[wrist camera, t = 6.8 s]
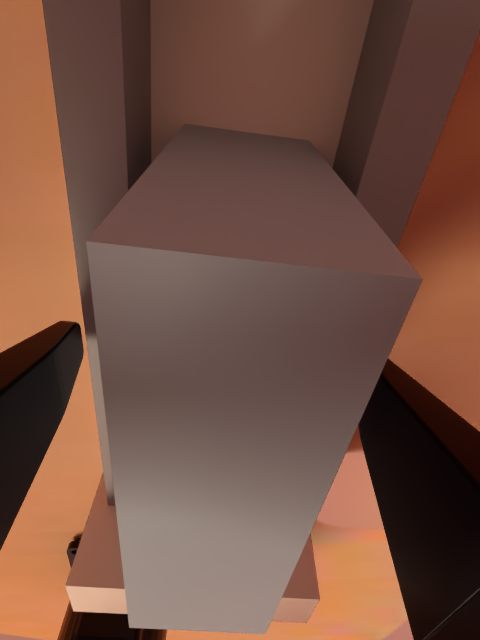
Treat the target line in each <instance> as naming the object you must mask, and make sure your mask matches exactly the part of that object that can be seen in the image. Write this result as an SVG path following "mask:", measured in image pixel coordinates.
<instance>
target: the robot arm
mask: <svg viewBox="0 0 480 640" xmlns="http://www.w3.org/2000/svg"><path fill="white" fill-rule="evenodd" d="M83 351H84V350H83V342H82V335H81V328H80V325H79V324H78V323H77V322H70V321H59V322H57V323H55V324H53V325H52V326H50V327H48V328H46V329H44V330H42V331H40V332H39V333H37V334H35V335H33V336H31V337H29V338H27V339H25V340H24V341H22V342H20V343H18V344H16V345H14V346H12V347H11V348H9V349H7V350H5V351H3V352H1V353H0V550H1V548H2V546H3V544H4V541H5V539H6V537H7V535H8V533H9V531H10V529H11V527H12V524H13V522H14V520H15V518H16V516H17V514H18V512H19V509H20V507H21V505H22V503H23V501H24V499H25V497H26V495H27V492H28V490H29V488H30V486H31V484H32V482H33V480H34V478H35V475H36V473H37V471H38V469H39V467H40V465H41V463H42V461H43V458H44V456H45V454H46V452H47V450H48V448H49V446H50V443H51V441H52V439H53V437H54V435H55V433H56V431H57V429H58V426H59V424H60V422H61V420H62V418H63V415H64V413H65V410H66V407H67V405H68V402H69V399H70V396H71V392H72V389H73V386H74V383H75V380H76V377H77V374H78V371H79V368H80V365H81V362H82V359H83ZM358 426H359V432H360V438H361V442H362V446H363V450H364V454H365V458H366V462H367V465H368V469H369V473H370V477H371V480H372V484H373V488H374V491H375V495H376V499H377V503H378V507H379V511H380V514H381V518H382V522H383V526H384V529H385V533H386V537H387V541H388V545H389V548H390V552H391V556H392V560H393V563H394V567H395V571H396V575H397V578H398V582H399V586H400V590H401V594H402V597H403V601H404V605H405V609H406V612H407V616H408V620H409V624H410V628H411V631H412V635H413V638H414V640H480V432H479V431H478V430H477V429H476V428H474V427H473V426H472V425H471V424H469V423H468V422H467V421H466V420H464V419H463V418H462V417H461V416H459V415H458V414H457V413H456V412H454V411H453V410H452V409H451V408H449V407H448V406H447V405H446V404H444V403H443V402H442V401H441V400H439V399H438V398H437V397H436V396H434V395H433V394H432V393H431V392H429V391H428V390H427V389H426V388H424V387H423V386H422V385H421V384H419V383H418V382H417V381H416V380H414V379H413V378H412V377H411V376H409V375H408V374H407V373H406V372H404V371H403V370H402V369H401V368H399V367H398V366H397V365H396V364H394V363H393V362H392V361H391V360H389V359H387V361H386V363H385V365H384V368H383V370H382V372H381V374H380V377H379V379H378V381H377V384H376V386H375V388H374V390H373V393H372V395H371V397H370V399H369V402H368V404H367V406H366V408H365V411H364V413H363V415H362V417H361V420H360V422H359V424H358ZM79 544H80V541H72V542H70V543H69V546H68V549H67V555H68V558H69V562H70V566H71V568H72V565H73V562H74V559H75V556H76V553H77V550H78V547H79ZM166 633H167V629H145V628H129V622H128V614H116V613H96V612H76V611H73V609H72V605H71V602H70V601H69V604H68V608H67V611H66V614H65V617H64V620H63V623H62V627H61V630H60V633H59V636H58V639H57V640H166Z"/></svg>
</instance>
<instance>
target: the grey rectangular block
mask: <svg viewBox="0 0 480 640" xmlns="http://www.w3.org/2000/svg"><path fill="white" fill-rule="evenodd" d="M86 245H87V254H88V263H89V272H90V281H91V290H92V299H93V308H94V317H95V326H96V335H97V344H98V353H99V362H100V370H101V379H102V388H103V397H104V406H105V415H106V424H107V433H108V442H109V451H110V460H111V469H112V478H113V487H114V496H115V505H116V514H117V523H118V532H119V541H120V550H121V559H122V568H123V577H124V586H125V595H126V604H127V613H128V622H129V628H145V629H167V630H188V631H209V632H230V633H252V634H266V632H267V630H268V627H269V625H270V623H271V621H272V618H273V616H274V614H275V612H276V609H277V607H278V605H279V603H280V600H281V598H282V596H283V593H284V591H285V589H286V587H287V584H288V582H289V580H290V578H291V575H292V573H293V571H294V569H295V566H296V564H297V562H298V560H299V557H300V555H301V553H302V551H303V548H304V546H305V544H306V542H307V539H308V537H309V535H310V533H311V530H312V528H313V526H314V523H315V521H316V519H317V517H318V514H319V512H320V510H321V508H322V505H323V503H324V501H325V499H326V496H327V494H328V492H329V489H330V487H331V485H332V483H333V481H334V478H335V476H336V474H337V472H338V469H339V467H340V465H341V463H342V460H343V458H344V456H345V454H346V451H347V449H348V447H349V444H350V442H351V440H352V438H353V435H354V433H355V431H356V429H357V426H358V424H359V422H360V420H361V417H362V415H363V413H364V411H365V408H366V406H367V404H368V402H369V399H370V397H371V395H372V393H373V390H374V388H375V386H376V384H377V381H378V379H379V377H380V374H381V372H382V370H383V368H384V365H385V363H386V361H387V359H388V356H389V354H390V352H391V350H392V347H393V345H394V343H395V341H396V338H397V336H398V334H399V332H400V329H401V327H402V325H403V323H404V320H405V318H406V316H407V314H408V311H409V309H410V307H411V305H412V302H413V300H414V298H415V295H416V293H417V291H418V289H419V286H420V284H421V282H422V280H423V279H422V278H421V277H420V275H419V274H418V273H417V272H416V270H415V269H414V268H413V267H412V266H411V264H410V263H409V262H408V261H407V259H406V258H405V257H404V256H403V255H402V253H401V252H400V251H399V250H398V248H397V247H396V246H395V245H394V244H393V242H392V241H391V240H390V239H389V237H388V236H387V235H386V234H385V233H384V231H383V230H382V229H381V228H380V226H379V225H378V224H377V223H376V221H375V220H374V219H373V218H372V217H371V215H370V214H369V213H368V212H367V210H366V209H365V208H364V207H363V206H362V204H361V203H360V202H359V201H358V199H357V198H356V197H355V196H354V195H353V193H352V192H351V191H350V190H349V188H348V187H347V186H346V185H345V184H344V182H343V181H342V180H341V179H340V177H339V176H338V175H337V174H336V172H335V171H334V170H333V169H332V168H331V166H330V165H329V164H328V163H327V161H326V160H325V159H324V158H323V157H322V155H321V154H320V153H319V152H318V150H317V149H316V148H315V147H314V146H313V144H312V143H311V142H310V141H309V140H302V139H294V138H287V137H279V136H272V135H265V134H257V133H250V132H242V131H235V130H228V129H220V128H213V127H205V126H198V125H191V124H184V125H183V126H182V128H181V129H180V130H179V131H178V132H177V134H176V135H175V136H174V137H173V138H172V140H171V141H170V142H169V143H168V144H167V146H166V147H165V148H164V149H163V150H162V151H161V153H160V154H159V155H158V156H157V157H156V159H155V160H154V161H153V162H152V163H151V165H150V166H149V167H148V168H147V169H146V171H145V172H144V173H143V174H142V175H141V177H140V178H139V179H138V180H137V181H136V182H135V184H134V185H133V186H132V187H131V188H130V190H129V191H128V192H127V193H126V194H125V196H124V197H123V198H122V199H121V200H120V202H119V203H118V204H117V205H116V206H115V207H114V209H113V210H112V211H111V212H110V213H109V215H108V216H107V217H106V218H105V219H104V221H103V222H102V223H101V224H100V225H99V227H98V228H97V229H96V230H95V231H94V232H93V234H92V235H91V236H90V237H89V238H88V240H87V241H86Z"/></svg>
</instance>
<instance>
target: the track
mask: <svg viewBox="0 0 480 640" xmlns="http://www.w3.org/2000/svg"><path fill="white" fill-rule="evenodd" d="M42 3H43V10H44V18H45V26H46V34H47V41H48V49H49V57H50V64H51V72H52V80H53V87H54V95H55V103H56V110H57V118H58V126H59V134H60V141H61V149H62V157H63V164H64V172H65V180H66V187H67V195H68V203H69V211H70V218H71V226H72V234H73V241H74V249H75V257H76V264H77V272H78V280H79V288H80V295H81V303H82V311H83V318H84V326H85V334H86V341H87V349H88V357H89V364H90V372H91V380H92V388H93V395H94V403H95V411H96V418H97V426H98V434H99V441H100V449H101V457H102V465H103V474H102V477H101V480H100V483H99V486H98V489H97V492H96V495H95V498H94V501H93V504H92V507H91V510H90V513H89V516H88V519H87V522H86V525H85V528H84V531H83V534H82V537H81V540H80V544H79V547H78V550H77V553H76V556H75V559H74V562H73V565H72V568H71V571H70V574H69V577H68V580H67V583H66V589H67V593H68V596H69V599H70V602H71V605H72V609H73V611H76V612H96V613H116V614H128V613H127V604H126V595H125V586H124V577H123V568H122V559H121V550H120V541H119V532H118V523H117V514H116V505H115V496H114V487H113V478H112V469H111V460H110V451H109V442H108V433H107V424H106V415H105V406H104V397H103V388H102V379H101V370H100V362H99V353H98V344H97V335H96V326H95V317H94V308H93V299H92V290H91V281H90V272H89V263H88V254H87V245H86V241H87V240H88V238H89V237H90V236H91V235H92V234H93V232H94V231H95V230H96V229H97V228H98V227H99V225H100V224H101V223H102V222H103V221H104V219H105V218H106V217H107V216H108V215H109V213H110V212H111V211H112V210H113V209H114V207H115V206H116V205H117V204H118V203H119V202H120V200H121V199H122V198H123V197H124V196H125V194H126V193H127V192H128V191H129V190H130V188H131V187H132V186H133V185H134V184H135V182H136V181H137V180H138V179H139V178H140V177H141V175H142V174H143V173H144V172H145V171H146V169H147V168H148V167H149V166H150V165H151V163H152V162H153V161H154V160H155V159H156V157H157V156H158V155H159V154H160V153H161V151H162V150H163V149H164V148H165V147H166V146H167V144H168V143H169V142H170V141H171V140H172V138H173V137H174V136H175V135H176V134H177V132H178V131H179V130H180V129H181V128H182V126H183V125H184V124H191V125H198V126H205V127H213V128H220V129H228V130H235V131H242V132H250V133H257V134H265V135H272V136H279V137H287V138H294V139H302V140H309V141H310V142H311V143H312V144H313V146H314V147H315V148H316V149H317V150H318V152H319V153H320V154H321V155H322V157H323V158H324V159H325V160H326V161H327V163H328V164H329V165H330V166H331V168H332V169H333V170H334V171H335V172H336V174H337V175H338V176H339V177H340V179H341V180H342V181H343V182H344V184H345V185H346V186H347V187H348V188H349V190H350V191H351V192H352V193H353V195H354V196H355V197H356V198H357V199H358V201H359V202H360V203H361V204H362V206H363V207H364V208H365V209H366V210H367V212H368V213H369V214H370V215H371V217H372V218H373V219H374V220H375V221H376V223H377V224H378V225H379V226H380V228H381V229H382V230H383V231H384V233H385V234H386V235H387V236H388V237H389V239H390V240H391V241H392V242H393V244H394V245H395V246H396V247H397V248H398V245H399V242H400V240H401V237H402V234H403V232H404V229H405V227H406V224H407V221H408V219H409V216H410V214H411V211H412V208H413V206H414V203H415V200H416V198H417V195H418V193H419V190H420V187H421V185H422V182H423V179H424V177H425V174H426V172H427V169H428V166H429V164H430V161H431V159H432V156H433V153H434V151H435V148H436V145H437V143H438V140H439V138H440V135H441V132H442V130H443V127H444V125H445V122H446V119H447V117H448V114H449V111H450V109H451V106H452V104H453V101H454V98H455V96H456V93H457V90H458V88H459V85H460V83H461V80H462V77H463V75H464V72H465V70H466V67H467V64H468V62H469V59H470V56H471V54H472V51H473V49H474V46H475V43H476V41H477V38H478V35H479V33H480V0H42ZM319 601H320V595H319V589H318V582H317V575H316V568H315V561H314V554H313V547H312V541H311V534H310V535H309V537H308V539H307V542H306V544H305V546H304V548H303V551H302V553H301V555H300V557H299V560H298V562H297V564H296V566H295V569H294V571H293V573H292V575H291V578H290V580H289V582H288V584H287V587H286V589H285V591H284V593H283V596H282V598H281V600H280V603H279V605H278V607H277V609H276V612H275V614H274V616H273V618H272V621H276V622H296V623H307V621H308V619H309V618H310V616H311V614H312V613H313V611H314V609H315V608H316V606H317V604H318V602H319Z"/></svg>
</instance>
